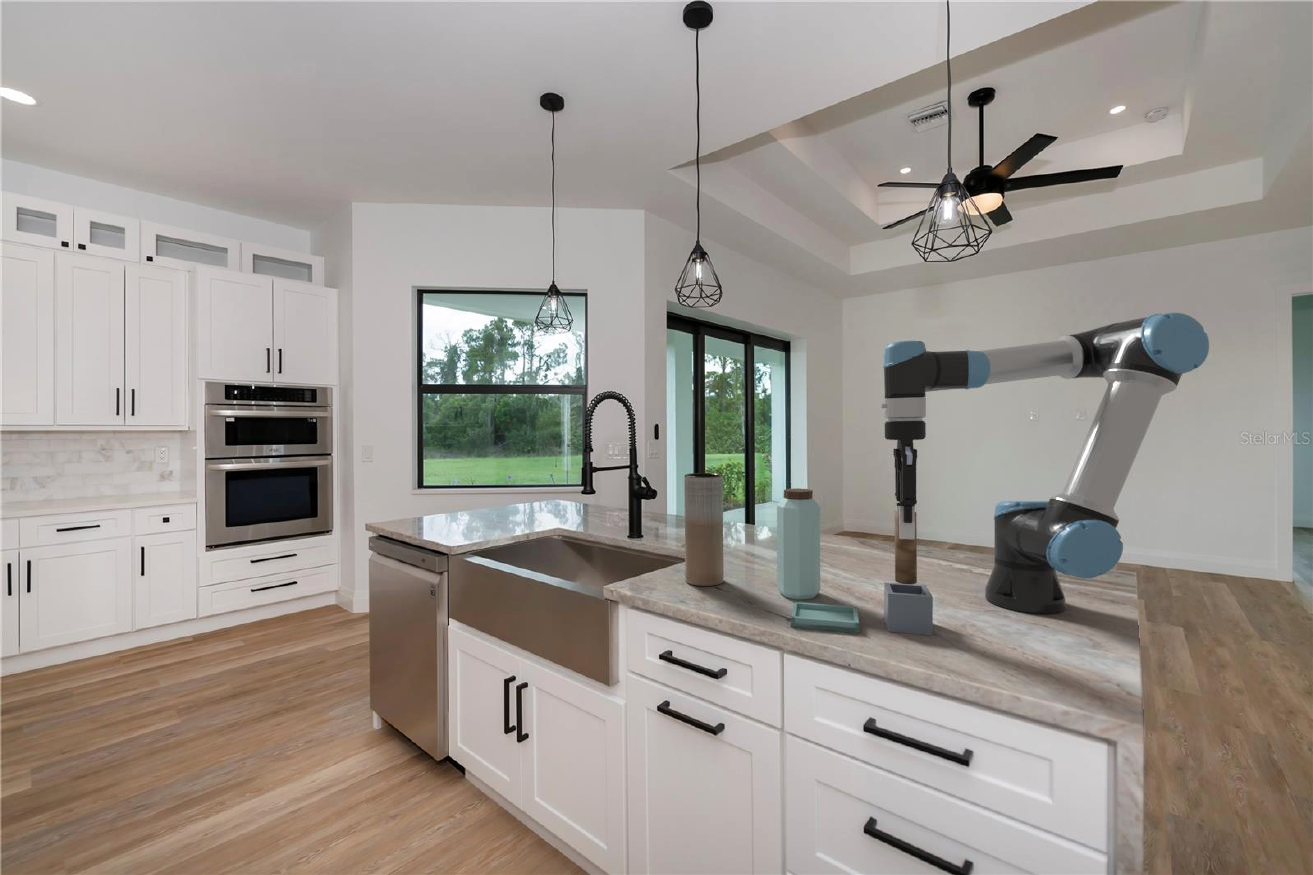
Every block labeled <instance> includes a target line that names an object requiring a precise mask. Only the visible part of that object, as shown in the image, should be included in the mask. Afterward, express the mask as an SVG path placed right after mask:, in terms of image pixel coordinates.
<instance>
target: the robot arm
mask: <svg viewBox="0 0 1313 875" xmlns="http://www.w3.org/2000/svg"><path fill="white" fill-rule="evenodd" d="M1209 350H1210V342H1209V336H1208V333H1206V332H1205V331H1204V327H1203V325H1202V324H1201V323H1200V322H1199V321H1198V320H1197V319H1196V318H1194V317H1193V316H1191V315H1188V314H1186V313H1181V312H1166V313H1154V314H1151V315H1149V316H1146V317H1140V318H1136V319H1131V320H1127V321H1122V322H1121V321H1119V322H1115V323H1111V324H1108V325H1104V326H1099V327H1097V328H1094V329H1091V330H1087V331H1083V332H1082V331H1081V332H1079V333H1073V334H1066V335H1062V336H1060V337H1058V338H1057V339H1056V340H1055V341H1049V342H1040V343H1039V342H1038V343H1034V344H1033V343H1032V344H1026V345H1025V344H1024V345H1016V346H1007V347H1001V348H993V349H986V350H985V349H984V350H969V349H966V350H950V351H947V350H946V351H928V350H927V348H926V343H925V342H924V341H922V340H903V341H894V342H890V343H888V344H887V345H886V346H885V348H884V354H883V356H884V357H883V378H884V380H883V381H884V382H883V383H884V384H883V385H884V403H881V405H880V406H881V407H880V408H881V409H884V418H885V419H887V420H886V421H885V422H884V438H885V439H886V440H889V441H896V448H893V451H892V452H893V457H894V472H895V474H894V476H895V477H894V479H895V480H894V481H895V482H894V483H895V485H894V486H895V487H894V488H895V493H894V497H895V499H896V511H899V525H900V539H915V512H916V511H915V509H916V508H915V506H916V505H917V503H918V501H917V458H918V449H917V448H914V447H915V446H914V441H915V440H916V441H918V440H924V439H926V436H927V434H926V432H927V431H926V429H927V428H926V424H927V423H926V422H925V420H923V419H925V418H926V417H927V408H926V407H927V398H926V393H927V392H928V393H929V392H937V391H947V390H963V389H964V390H970V389H978V388H982V387H984V386H985V385H991V384H992V385H993V384H998V383H999V384H1001V383H1008V382H1015V381H1023V380H1025V381H1026V380H1034V379H1040V378H1041V379H1043V378H1050V377H1057V376H1059V377H1060V378H1061V379H1066V380H1069V379H1079V378H1081V379H1082V378H1084V379H1085V378H1099V379H1101V378H1104V380H1105V381H1106V382H1107V384H1108V385H1107V387H1106V390H1105V392H1104V394H1103V396H1102V399H1101V401H1100V403H1099V406H1098V409H1097V411H1096V412H1095V415H1094V417H1093V420H1092V422H1091V425H1090V427H1089V429H1088V432H1087V434H1086V437H1085V439H1084V441H1083V442H1082V445H1081V448H1080V451H1079V453H1078V455H1077V457H1076V460H1075V462H1074V465H1073V467H1072V469H1071V471H1070V473H1069V476H1068V478H1067V481H1066V484H1065V486H1064V488H1063V490H1062V492H1061V493H1058V494H1056V495H1053V496H1051V497H1050V498H1049V500H1048V501H1047V500H1046V501H1045V500H1044V501H1043V500H1040V501H1039V500H1020V501H1019V500H1008V501H1006V500H1005V501H999V502H998V503H996V505H995V508H994V515H993V520H994V555H993V556H994V558H993V559H994V561H993V563H994V565H993V568H992V570H991V573H990V576H989V577H988V581H987V583H986V585H985V588H984V590H985V592H984V593H985V595H984V596H985V597H984V598H985V600H987V601H988V602H990V603H991V604H993V605H994V606H995V605H996V606H999V607H1000V608H1005V609H1008V610H1011V611H1012V610H1013V611H1018V612H1024V613H1033V614H1057V613H1061V612H1064V611H1065V610H1066V597H1065V593H1064V592H1063V588H1062V584H1061V582H1060V580H1059V578H1058V575H1057V572H1058V573H1061V574H1063V575H1066V576H1071V577H1076V578H1080V579H1081V578H1082V579H1092V578H1096V577H1100V576H1103V575H1105V574H1107V573H1108V572H1110V571H1111V570H1112V569H1113V568H1115V566H1117V564H1118V563H1119V562H1120V560H1121V557H1122V554H1123V550H1124V543H1123V542H1122V540H1121V539H1122V537H1121V534H1120V532H1119V530H1118V529H1117V527H1118V524H1119V522H1120V518H1119V517H1118V515H1117V513H1116V512H1115V506H1116V503H1117V501H1118V500H1119V497H1120V495H1121V492H1122V490H1123V488H1124V486H1125V483H1126V481H1127V477H1128V476H1129V474H1130V471H1131V468H1132V467H1133V465H1134V462H1135V460H1136V457H1137V455H1138V453H1139V450H1140V448H1141V445H1142V443H1143V440H1144V438H1145V436H1146V434H1147V431H1148V429H1149V426H1150V424H1151V423H1152V420H1153V417H1154V415H1155V413H1156V410H1157V409H1158V406H1159V403H1160V400H1161V399H1162V397H1163V396H1164V395H1167V394H1169V393H1172V392H1174V391H1175V390H1176V389H1177V387H1178V384H1179V382H1180V380H1181V378H1182V376H1183V374H1186V373H1187V374H1188V373H1190V372H1192V371H1193V370H1196V369H1197V368H1200V367H1201V366H1202V365H1203V364H1204V362H1206V360H1207V357H1208V355H1209Z"/></svg>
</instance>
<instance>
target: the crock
mask: <svg viewBox="0 0 1313 875" xmlns="http://www.w3.org/2000/svg"><path fill="white" fill-rule="evenodd" d="M933 599H934V597H933V594H932V593H931V592H930V590H929V588H928V586H927V585H926V584H917V583H916V584H901V583H898V582H886V581H885V582H883V619H884V622H885V625H886V629H887V632H890V633H891V632H893V633H902V634H903V633H905V634H915V635H924V636H925V635H926V636H933V635H934V634H933V631H934V630H933V629H934V626H933V622H934V621H933V620H934V617H933V613H934V611H933V610H934V608H933V607H934V606H933V605H934V604H933V602H934V600H933Z"/></svg>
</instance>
